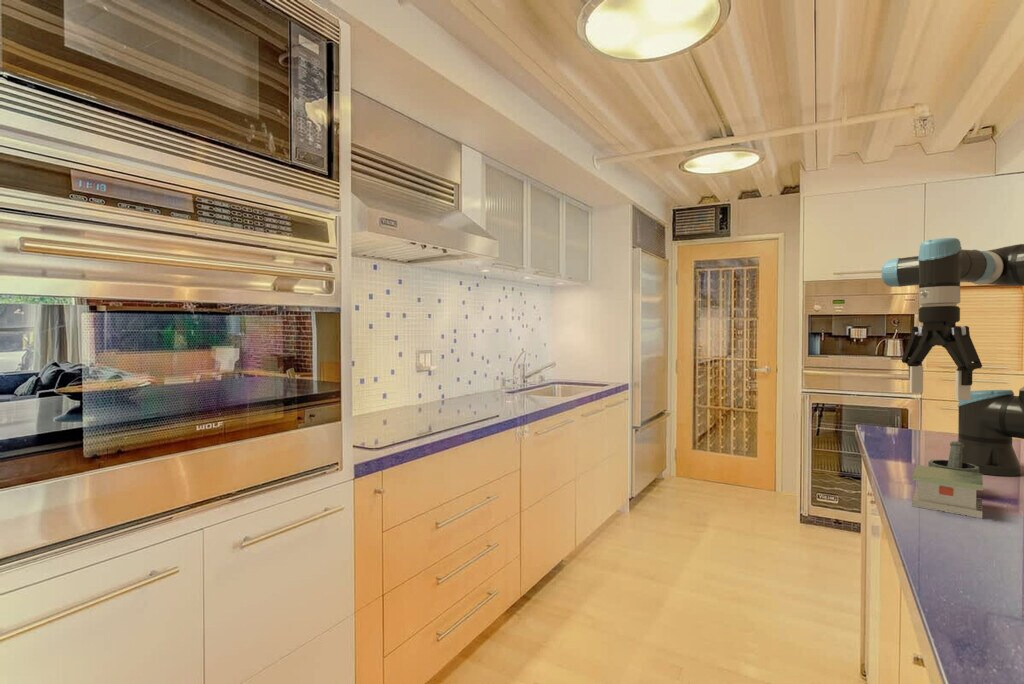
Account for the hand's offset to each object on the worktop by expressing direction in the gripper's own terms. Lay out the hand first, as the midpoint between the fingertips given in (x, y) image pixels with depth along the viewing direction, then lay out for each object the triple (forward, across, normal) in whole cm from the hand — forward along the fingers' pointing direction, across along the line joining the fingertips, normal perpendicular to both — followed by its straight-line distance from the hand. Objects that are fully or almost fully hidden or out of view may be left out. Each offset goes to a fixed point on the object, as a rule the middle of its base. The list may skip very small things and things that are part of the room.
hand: (938, 396), depth 122 cm
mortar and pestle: (+25, -8, +10) cm, 28 cm away
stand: (+25, +3, 0) cm, 25 cm away
